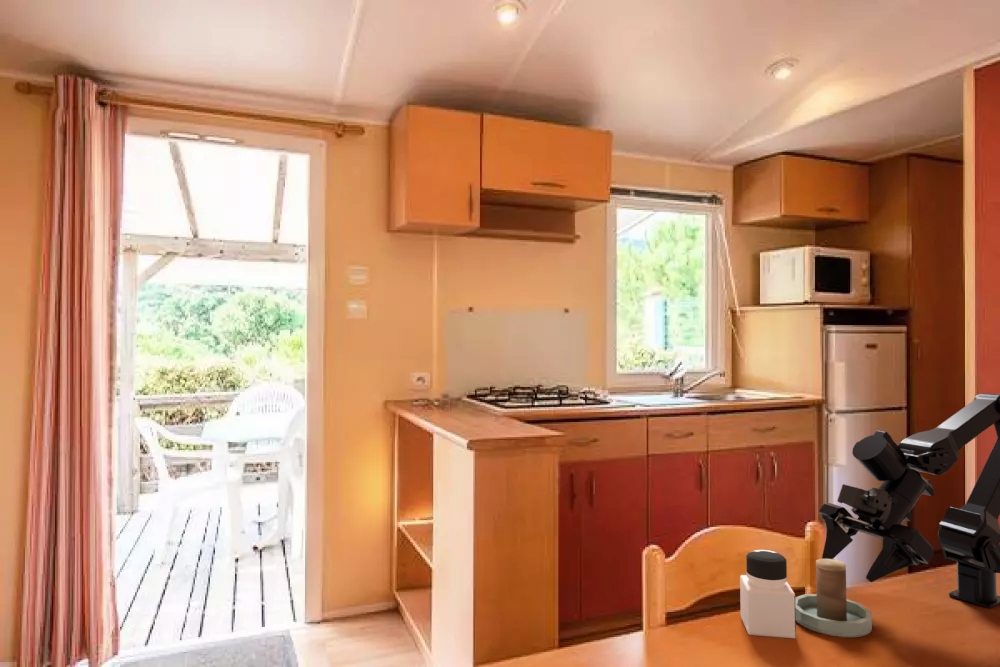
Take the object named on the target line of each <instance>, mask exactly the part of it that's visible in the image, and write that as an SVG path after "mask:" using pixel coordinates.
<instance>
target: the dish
mask: <svg viewBox="0 0 1000 667" xmlns="http://www.w3.org/2000/svg"><path fill="white" fill-rule="evenodd" d="M846 601H847V621H836V620H830V619H825V618H820V617H817V593H809V594H808V593H806V594H801V595H798V596H795V614H796V623H798V624H799V625H800V626H802V627H804V628H805V629H808V630H810V631H813V632H817V633H818V634H822V635H828V636H832V637H837V636H838V638H860V637H865V636H867V635H869V634H870V633H871V632H872V631H873V627H872V625H873V624H872V622H873V620H872V618H873V617H872V611H871V610H870V609H868V608H867V607H866V606H864V605H863V604H861V603H859V602H857V601H853V600H851V599H849V598H846Z"/></svg>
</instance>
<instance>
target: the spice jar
mask: <svg viewBox="0 0 1000 667" xmlns="http://www.w3.org/2000/svg"><path fill="white" fill-rule="evenodd" d="M815 574H816V576H815V579H816V583H815V584H816V585H815V586H816V594H817V617H820V618H825V619H830V620H836V621H847V601H846V599H847V564H846V563H844V562H843V561H841V560H838V559H835V558H833V559H822V558H818V559H816V560H815Z"/></svg>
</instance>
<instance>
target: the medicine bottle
mask: <svg viewBox="0 0 1000 667" xmlns="http://www.w3.org/2000/svg"><path fill="white" fill-rule="evenodd" d="M787 560H788V559H786V557H785V556H784V555H782V554H780V553H778V552H776V551H772V550H768V549H767V550H766V549H755V550H752V551H750V552H747V554H746V574H741V575H740V577H739V587H740V588H739V589H740V590H739V591H740V598H739V600H740V618H741V620H742V623H743V625H744V627H745V629H746V632H747V635H749V636H759V637H768V638H769V637H771V638H783V639H795V638H796V637H797V631H796V630H797V628H796V627H797V626H796V624H797V622H796V614H795V597H796V593H795V592H794V590H793V589H792V587H791V586H790V584H789V582H788V575H787V574H788V572H787V565H788V564H787V563H788V561H787Z"/></svg>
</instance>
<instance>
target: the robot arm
mask: <svg viewBox="0 0 1000 667" xmlns="http://www.w3.org/2000/svg"><path fill="white" fill-rule="evenodd" d="M991 426H993V427H994V430H995V434H996V437H997V438H996V440H995V443H994V444H993V447H992V449H991V451H990V453H989V454H988V457H987V459H986V462H985V463H984V465H983V468H982V469H981V471H980V474H979V476H978V478H977V480H976V482H975V484H974V486H973V488H972V490H971V492H970V494H969V496H968V499H967V500H966V501H965V502H966V503H965V504H964V505H962V506H961V507H959V508H957V507H952V506H949V507H948V508H947V509H946V510H945V514H944V515H943V518H942V520H941V521H940V522H939V523H938V526H939V529H938V532H937V537H938V541H939V544H940V547H941V550H942V553H943V557H944V559H947V560H952V561H955V562H956V587H957V589H955V590H952V591H950V592H948V596H949V597H952V598H955V599H958V600H962V601H965V602H966V603H967V602H968V603H971V604H974V605H977V606H980V607H981V606H982V607H984V608H988V609H990V608H993V607H995V606H997V605H1000V595H998V586H997V585H998V580H997V574H1000V523H999V517H1000V393H990V392H981V393H978V394H977V395H975V397H974V398H973V400H972V401H971V402H969V403H967V405H965V406H964V407H963V408H961V409H960V410H959V411H956V413H954V414H953V415H952V416H950V417H949V418H947V419H946V420H945V421H943V422H941V424H939V425H938V426H937V427H935V428H932V429H928V430H924V431H920V432H916V433H913V434H911V435H910V436H907V437H905V438H903V439H902V441H900V442H899V443H898V444H897V443H896V442H895V440H893V438H892V436H891V435H890V433H889V432H887V431H884V430H883V431H882V430H876V431H875V432H874V433H873V434H871V435H868V436H866V437H863V438H862V439H860V440H859V441H857V442H856V443H855V444H854V446H853V447H852V455H853V457H854V458H855V459H856V460H857V461H858V462H859V464H860V465H861V466H862V467H863V468H864V469H865V470H866V472H868V474H870V476H871V477H872V478H873V479H874V480H876V481H879V482H881V483H880V485H879V486H878V488H876V487H872V488H871V489H867V490H866V489H863V488H860V487H857V486H856V487H855V486H852V485H850V484H849V485H848V484H845V483H842V485H841V488H840V491H839V494H838V497H837V502H838V503H840V504H845V505H847V506H849V507H851V511H852V513H853V514H854V515H856V516H857V517H858V518H855V517H854V516H853V515H852V514H851V513H850V512H849V511H848V509H846V508H845V507H844V506H841V505H838V504H834V503H831V502H828V503H827V502H826V503H823V505H822V506H820V509H819V510H818V512H817V514H819V515H820V516H821V520H822V521H823V522H824V523H825V527H826V537H825V541H824V547H823V550H822V551H823V552H822V554H821V555H822V556H821V559H835V557H837V556H838V555H839V554H840V553H841V552H842V551H844V550H845V548H847V546H849V545H850V544H851V543H852V542H853V540H854V539H853V538H852V537H854V536H856V535H857V533H858V532H860V533H864V534H867V535H870V536H872V537H875V538H878V539H881V540H882V548H881V550H880V552H879V553H878V555H877V557H876V558H875V560H874V562H873V563H872V565H871V567H870V568H869V569H868V572H867V574H866V576H865V579H866V580H867V581H868V582H870V583H873V582H875V581H877V580H879V579H882V578H883V577H886V576H888V575H890V574H892V573H894V572H897V571H899V570H901V569H905V568H908V567H909V566H913V565H915V566H918V565H920V563H923V564H925V565H928V564H929V563H930V562H931V560H932V559H933V557H934V555H935V554H934V551H935V550H934V547H933V545H932V544H931V543H930V542H929V541H928V539H926V538H925V537H924V536H923V533H921V532H920V531H919V529H917V528H913V527H910V526H906V525H903V523H904V521H908V522H912V520H913V518H914V516H913V515H912V514H911V510H912V509H913V508H914V507H915V505H916V503H917V502H918V501H919V499H920V497H921V496H922V495H926V496H930V497H934V496H935V489H934V488H933V486H932V479H928V478H924V477H923V476H922V474H921V473H926V474H931V475H935V476H942V475H945V474H946V473H947V472H949V470H950V469H951V468H952V467H953V466H954V465H955V463H956V462H958V460H959V452H960V450H962V448H963V447H965V446H966V445H967V444H969V443H970V442H971V441H972V440H974V439H976V438H977V437H978V436H980V435H981V434H982V433H983V432H985V431H986V430H988V429H989V428H990V427H991ZM920 472H921V473H920Z"/></svg>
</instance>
